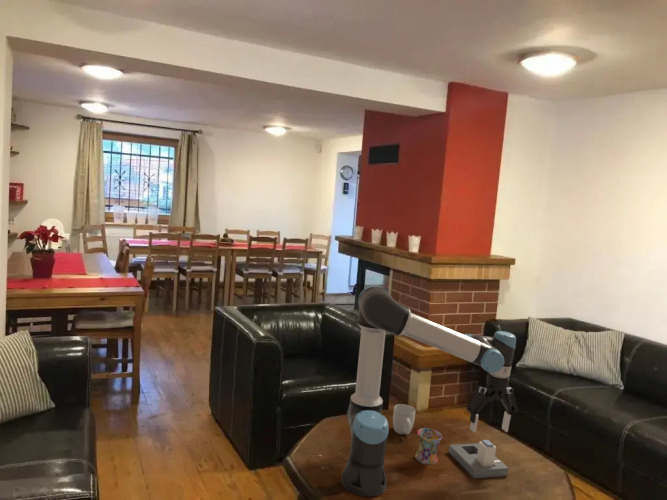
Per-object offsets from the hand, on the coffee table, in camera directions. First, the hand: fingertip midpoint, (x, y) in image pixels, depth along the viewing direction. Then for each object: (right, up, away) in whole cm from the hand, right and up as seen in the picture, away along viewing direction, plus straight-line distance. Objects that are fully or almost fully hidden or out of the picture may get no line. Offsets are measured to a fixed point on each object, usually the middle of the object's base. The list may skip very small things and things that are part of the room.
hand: (488, 430), depth 188 cm
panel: (-3, -16, +6) cm, 17 cm away
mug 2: (-22, -13, +7) cm, 27 cm away
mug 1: (-28, -11, +26) cm, 40 cm away
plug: (-1, -15, +2) cm, 15 cm away
